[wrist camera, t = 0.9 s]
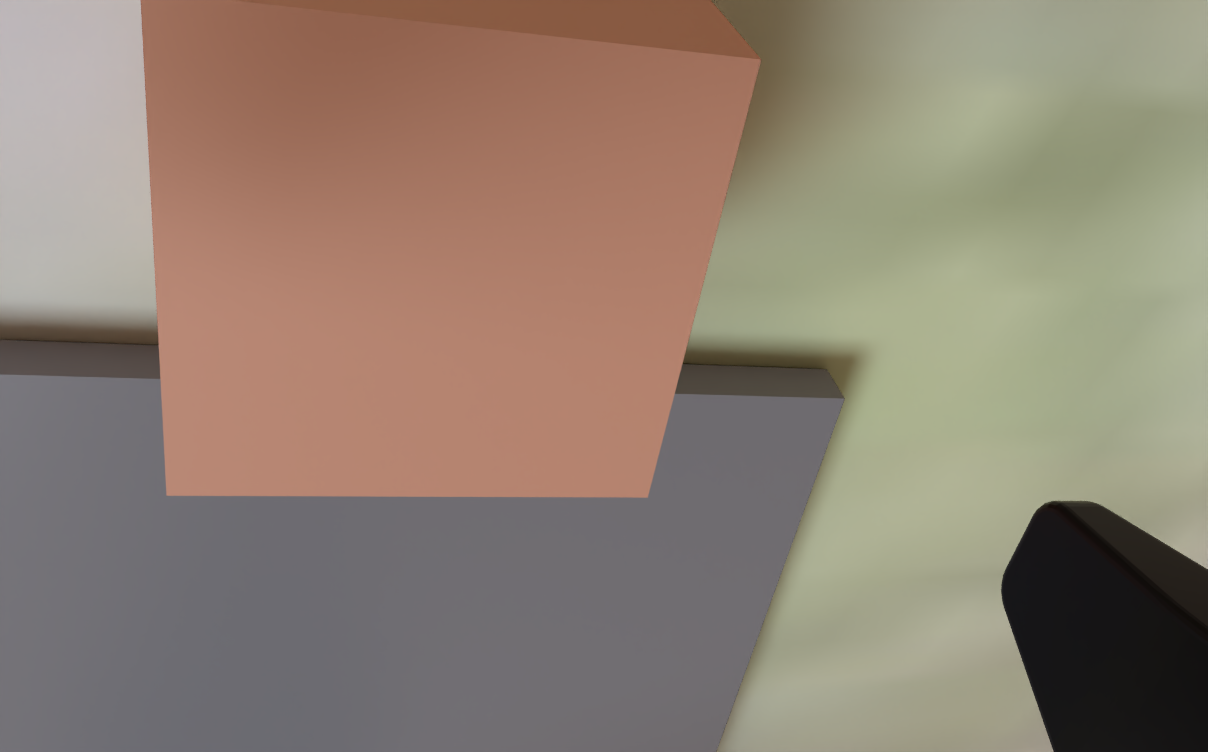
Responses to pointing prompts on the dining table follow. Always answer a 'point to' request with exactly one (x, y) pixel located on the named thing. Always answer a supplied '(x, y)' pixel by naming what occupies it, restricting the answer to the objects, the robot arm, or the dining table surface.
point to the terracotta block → (432, 238)
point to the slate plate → (382, 584)
